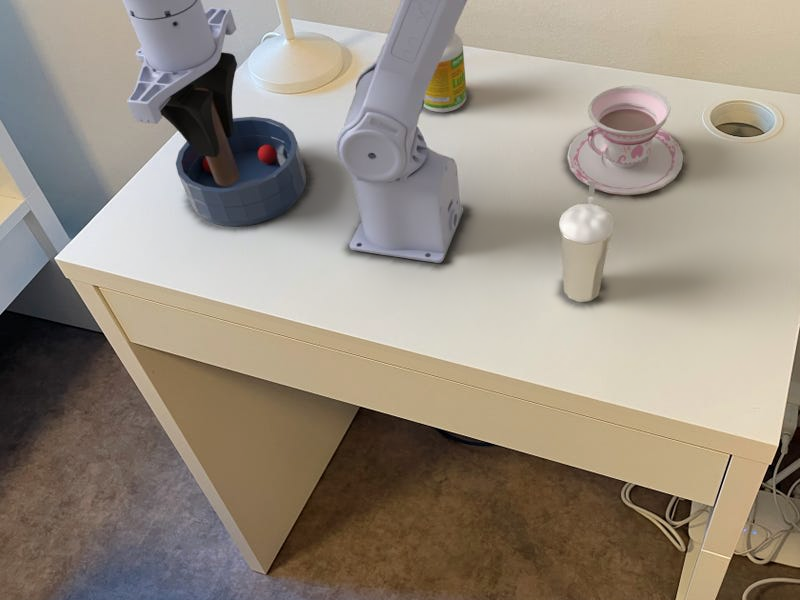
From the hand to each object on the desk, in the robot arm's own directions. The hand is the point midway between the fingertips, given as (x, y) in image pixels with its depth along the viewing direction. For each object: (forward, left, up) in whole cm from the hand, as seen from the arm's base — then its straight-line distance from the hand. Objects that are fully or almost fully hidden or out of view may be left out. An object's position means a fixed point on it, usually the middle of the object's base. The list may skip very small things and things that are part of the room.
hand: (215, 143), depth 75 cm
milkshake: (-35, +2, -10) cm, 36 cm away
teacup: (-36, -17, -10) cm, 41 cm away
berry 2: (+1, -9, -8) cm, 12 cm away
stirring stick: (0, 0, -4) cm, 4 cm away
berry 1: (+6, -6, -8) cm, 12 cm away
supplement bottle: (-14, -24, -10) cm, 30 cm away
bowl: (+2, -5, -10) cm, 12 cm away
